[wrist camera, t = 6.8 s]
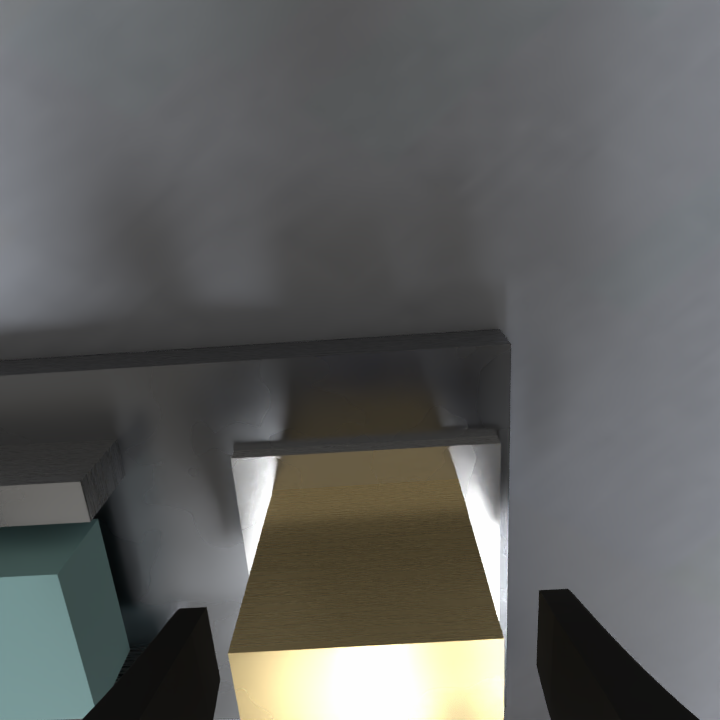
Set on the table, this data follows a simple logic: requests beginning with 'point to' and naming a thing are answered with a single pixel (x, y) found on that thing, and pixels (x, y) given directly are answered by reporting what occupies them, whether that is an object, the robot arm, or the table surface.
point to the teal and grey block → (57, 621)
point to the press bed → (247, 455)
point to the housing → (368, 609)
